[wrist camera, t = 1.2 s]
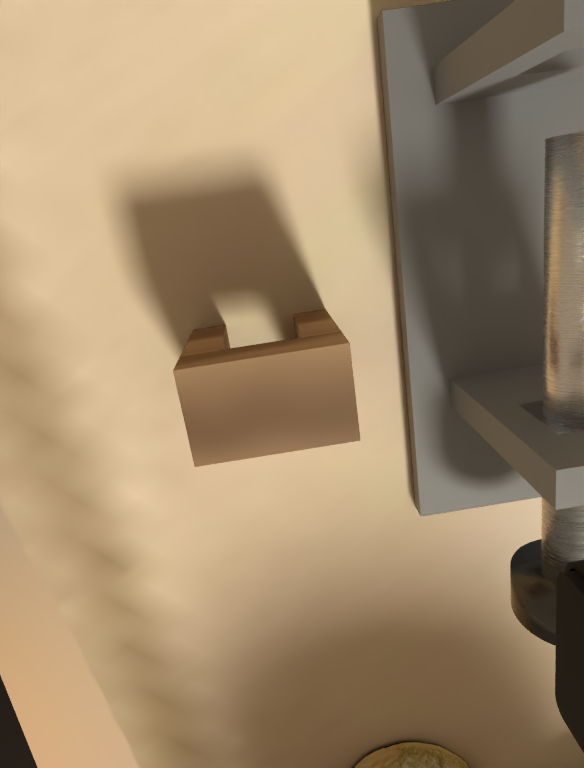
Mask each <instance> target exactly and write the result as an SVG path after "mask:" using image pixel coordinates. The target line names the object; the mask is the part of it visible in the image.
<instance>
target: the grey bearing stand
mask: <svg viewBox="0 0 584 768" xmlns="http://www.w3.org/2000/svg"><path fill="white" fill-rule="evenodd" d="M377 25H378V38H379V50H380V63H381V76H382V88H383V101H384V114H385V126H386V139H387V152H388V164H389V177H390V190H391V202H392V215H393V228H394V240H395V253H396V266H397V278H398V291H399V304H400V316H401V329H402V342H403V354H404V367H405V379H406V392H407V405H408V417H409V430H410V443H411V455H412V468H413V481H414V493H415V506H416V509H417V510H418V512H419V514H420V516H427V515H433V514H439V513H446V512H452V511H458V510H464V509H470V508H476V507H482V506H488V505H494V504H501V503H507V502H513V501H519V500H525V499H531V498H537V497H543V498H544V499H545V500H546V501H547V502H548V503H549V504H550V505H551V506H552V507H553V508H554V509H555V510H559V509H565V508H571V507H577V506H583V505H584V430H582V431H576V432H569V433H563V434H557V433H556V432H555V431H553V430H552V429H551V428H549V427H548V426H546V425H545V424H544V423H543V307H544V184H545V139H547V138H551V137H556V136H560V135H566V134H571V133H576V132H582V131H584V0H453V1H446V2H439V3H432V4H426V5H419V6H412V7H405V8H398V9H391V10H384V11H382V12H381V14H380V15H379V17H378V18H377Z"/></svg>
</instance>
